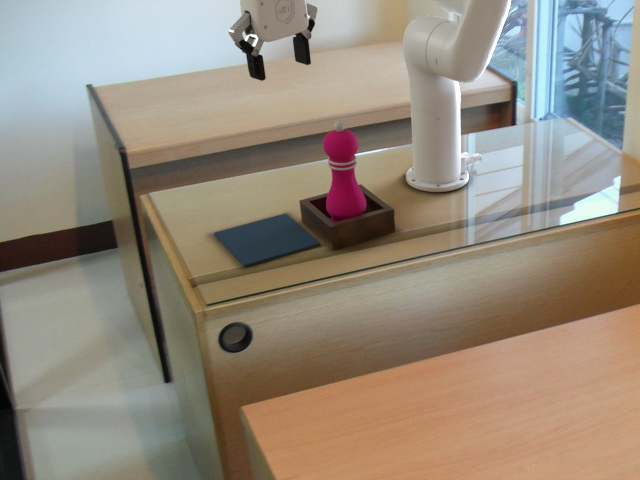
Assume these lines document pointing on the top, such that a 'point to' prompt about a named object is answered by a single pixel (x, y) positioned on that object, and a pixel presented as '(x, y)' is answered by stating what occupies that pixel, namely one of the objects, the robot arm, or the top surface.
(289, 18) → the robot arm
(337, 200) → the pepper mill
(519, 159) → the top surface
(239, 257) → the mat
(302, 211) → the stand
